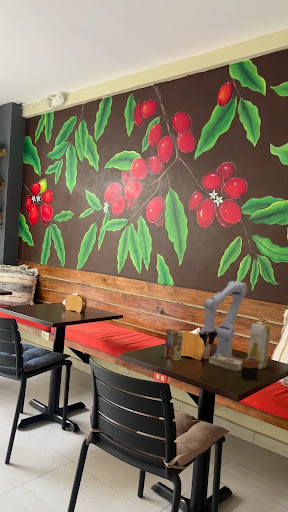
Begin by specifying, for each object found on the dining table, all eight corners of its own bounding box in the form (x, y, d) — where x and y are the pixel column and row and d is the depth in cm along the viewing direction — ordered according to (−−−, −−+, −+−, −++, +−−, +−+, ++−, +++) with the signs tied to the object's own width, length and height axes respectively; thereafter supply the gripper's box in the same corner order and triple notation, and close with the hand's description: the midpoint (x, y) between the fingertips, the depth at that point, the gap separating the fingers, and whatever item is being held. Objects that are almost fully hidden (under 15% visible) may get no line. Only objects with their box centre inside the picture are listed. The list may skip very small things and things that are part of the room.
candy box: (181, 360, 223) (183, 331, 223) (175, 361, 220) (177, 332, 220) (169, 356, 230) (172, 328, 230) (163, 356, 227) (166, 328, 227)
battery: (257, 379, 202) (259, 358, 202) (246, 380, 199) (248, 359, 198) (250, 376, 206) (252, 356, 205) (240, 377, 202) (242, 356, 202)
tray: (221, 360, 232) (221, 353, 231) (247, 367, 221) (248, 360, 221) (208, 363, 222) (209, 357, 221) (236, 371, 211) (237, 364, 211)
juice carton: (245, 365, 225) (249, 320, 225) (252, 363, 231) (256, 320, 231) (261, 370, 219) (265, 324, 218) (268, 367, 225) (272, 323, 224)
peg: (204, 357, 235) (206, 342, 235) (210, 358, 233) (211, 344, 233) (201, 357, 232) (202, 343, 232) (207, 359, 230) (208, 345, 230)
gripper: (210, 318, 240) (207, 342, 240) (196, 320, 229) (193, 345, 229) (220, 321, 236) (218, 345, 236) (207, 322, 225) (204, 348, 225)
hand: (207, 345), depth 232 cm, fingers open, 7 cm apart
